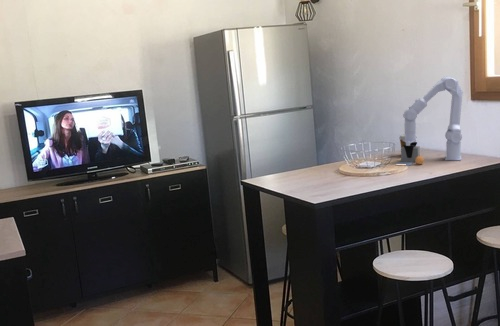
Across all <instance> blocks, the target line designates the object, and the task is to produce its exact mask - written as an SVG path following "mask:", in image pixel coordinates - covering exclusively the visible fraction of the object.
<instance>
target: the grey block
mask: <svg viewBox="0 0 500 326" xmlns="http://www.w3.org/2000/svg"><path fill="white" fill-rule="evenodd" d="M420 153H421V150H420V146H419V145H418V146H417V145H416V146H414V148H413V151H412V157H411V158H407V155H406V151H405V148H404V147H402V148H401V147H400V158H401V159H400V160H401V161H400V162H413V163H412V164H414V163H415V164H417V163H416V162H415V159H416V157H418V156H421V154H420Z"/></svg>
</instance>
